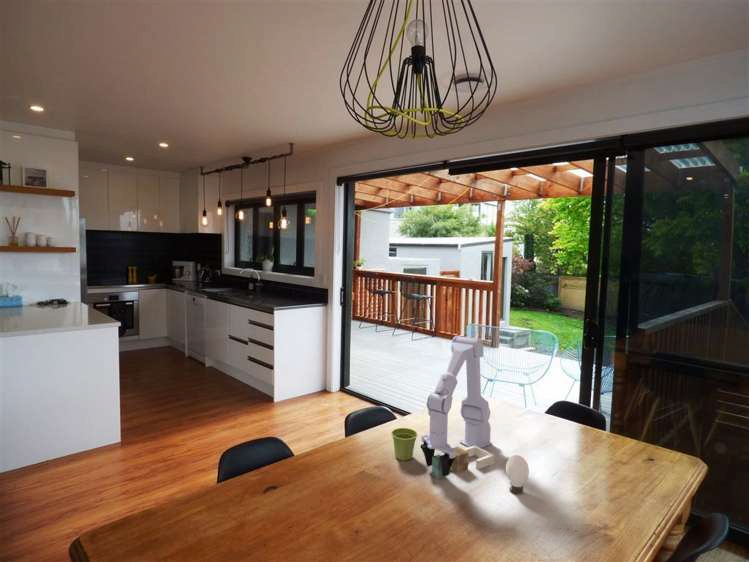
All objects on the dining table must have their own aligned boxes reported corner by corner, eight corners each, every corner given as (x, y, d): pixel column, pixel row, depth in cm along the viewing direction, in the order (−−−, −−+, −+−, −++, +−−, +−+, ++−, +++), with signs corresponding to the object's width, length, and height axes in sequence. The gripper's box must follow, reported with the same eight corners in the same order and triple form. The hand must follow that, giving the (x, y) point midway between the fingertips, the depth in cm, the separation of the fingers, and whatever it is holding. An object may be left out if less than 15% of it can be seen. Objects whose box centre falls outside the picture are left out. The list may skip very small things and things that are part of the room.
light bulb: (512, 497, 131) (513, 462, 131) (501, 485, 138) (502, 452, 137) (532, 495, 133) (533, 460, 132) (520, 483, 139) (521, 450, 139)
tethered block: (457, 463, 152) (457, 446, 152) (467, 469, 148) (468, 452, 148) (429, 472, 145) (430, 455, 145) (440, 479, 141) (440, 461, 141)
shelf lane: (474, 453, 160) (475, 445, 160) (494, 463, 152) (494, 455, 152) (459, 458, 156) (459, 450, 155) (478, 469, 148) (478, 460, 148)
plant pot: (417, 451, 161) (417, 428, 160) (417, 464, 151) (417, 439, 151) (391, 450, 162) (392, 427, 161) (390, 462, 152) (390, 438, 152)
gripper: (414, 425, 147) (414, 464, 148) (444, 441, 135) (443, 484, 136) (430, 420, 151) (430, 459, 152) (461, 436, 139) (460, 477, 140)
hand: (437, 470), depth 144 cm, fingers open, 7 cm apart
